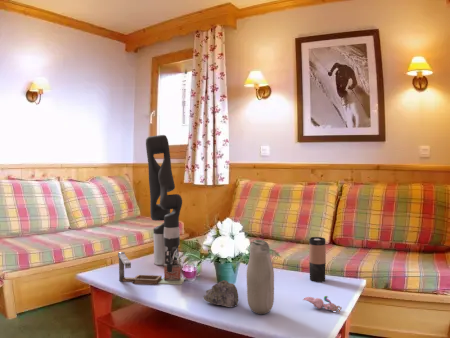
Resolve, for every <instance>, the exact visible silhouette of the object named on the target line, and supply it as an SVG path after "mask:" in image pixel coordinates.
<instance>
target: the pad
mask: <svg viewBox="0 0 450 338" xmlns="http://www.w3.org/2000/svg"><path fill="white" fill-rule="evenodd" d="M182 277H183V276H182ZM182 277H181V276H180V278H181V280H180V281H165V280H164V277H162V280H161V281H159V283H158V285H159V284H160V285H176V286H177V285H178V286H179V285H180V286H181V285H182V284H183V283H184V282H185V281H184V279H183V278H182Z"/></svg>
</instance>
